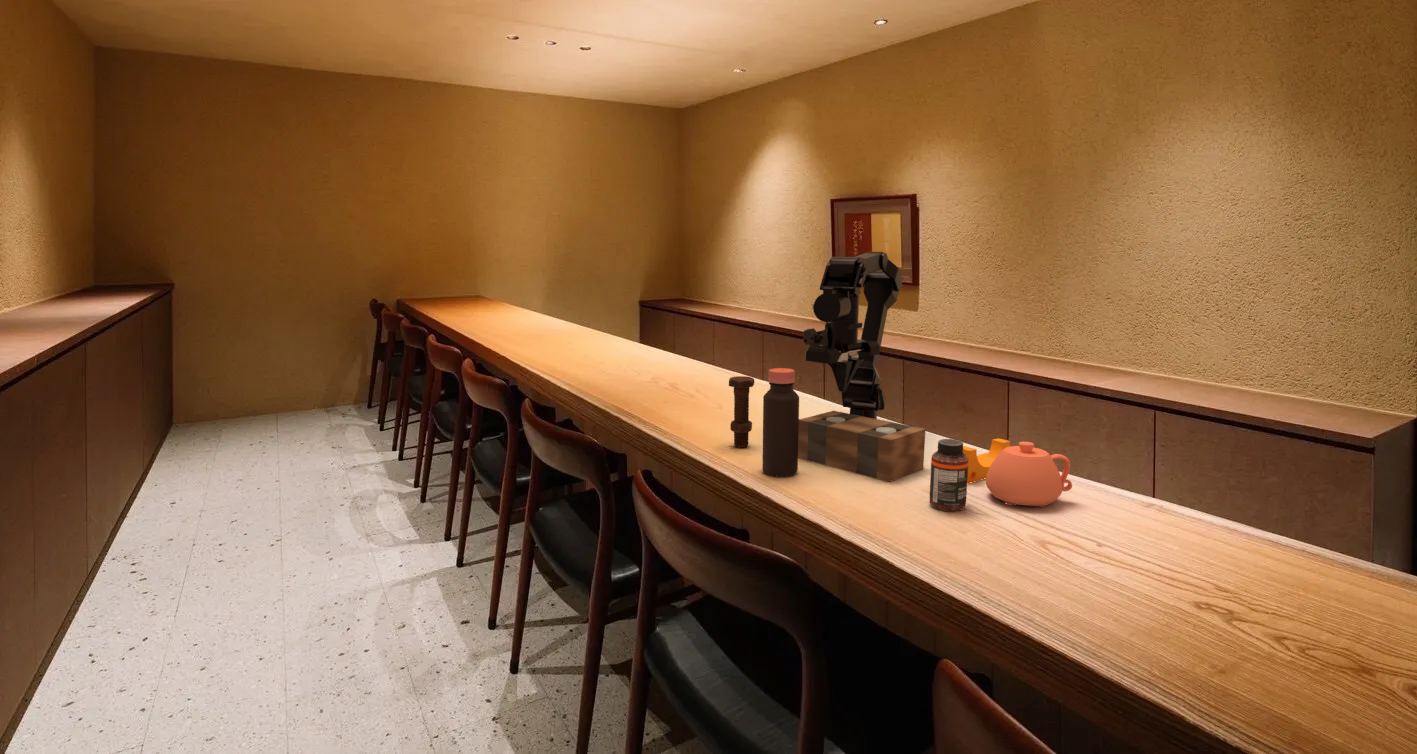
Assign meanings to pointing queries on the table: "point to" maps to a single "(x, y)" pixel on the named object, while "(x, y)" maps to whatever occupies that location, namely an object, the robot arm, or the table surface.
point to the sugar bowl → (1027, 476)
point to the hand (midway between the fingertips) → (842, 391)
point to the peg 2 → (886, 430)
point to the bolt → (741, 409)
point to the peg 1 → (835, 419)
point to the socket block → (862, 445)
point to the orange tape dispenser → (983, 459)
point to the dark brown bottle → (780, 424)
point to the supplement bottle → (949, 476)
